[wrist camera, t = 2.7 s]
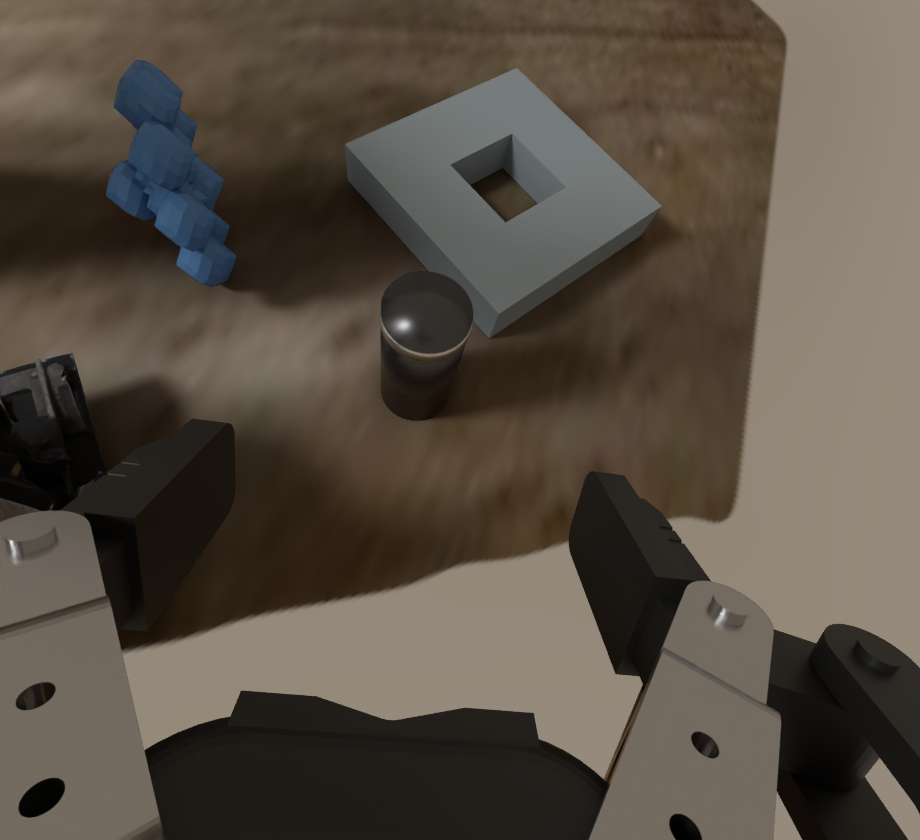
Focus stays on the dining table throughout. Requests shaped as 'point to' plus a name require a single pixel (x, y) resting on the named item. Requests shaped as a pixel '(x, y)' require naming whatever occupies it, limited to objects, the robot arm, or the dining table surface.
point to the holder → (473, 221)
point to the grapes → (169, 175)
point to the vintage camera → (45, 438)
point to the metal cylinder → (422, 342)
